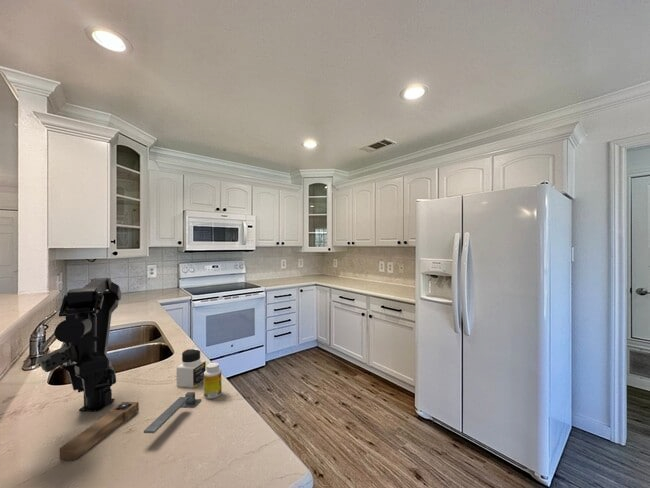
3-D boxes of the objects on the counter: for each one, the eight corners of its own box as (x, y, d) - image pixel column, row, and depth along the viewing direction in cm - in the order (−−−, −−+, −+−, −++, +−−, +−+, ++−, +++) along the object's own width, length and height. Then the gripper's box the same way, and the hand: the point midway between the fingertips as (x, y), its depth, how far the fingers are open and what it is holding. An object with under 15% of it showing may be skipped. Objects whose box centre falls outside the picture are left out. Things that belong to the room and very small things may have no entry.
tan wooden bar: (122, 410, 86) (122, 401, 86) (138, 410, 85) (138, 402, 85) (57, 459, 66) (57, 448, 66) (77, 459, 66) (77, 448, 66)
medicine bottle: (193, 388, 99) (193, 354, 99) (176, 386, 101) (175, 353, 101) (206, 378, 106) (205, 347, 106) (189, 377, 108) (189, 346, 108)
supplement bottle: (221, 397, 93) (221, 366, 93) (203, 400, 91) (203, 369, 91) (221, 389, 98) (221, 360, 98) (204, 392, 96) (204, 362, 96)
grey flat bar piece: (139, 446, 71) (139, 430, 71) (186, 400, 92) (186, 388, 92) (158, 446, 70) (158, 431, 70) (201, 400, 91) (200, 388, 91)
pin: (116, 419, 82) (116, 407, 82) (123, 413, 84) (123, 402, 84) (124, 419, 82) (124, 407, 82) (131, 414, 84) (131, 402, 84)
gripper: (32, 338, 75) (30, 398, 74) (53, 346, 65) (51, 416, 64) (85, 329, 84) (84, 382, 83) (110, 335, 74) (109, 396, 73)
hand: (82, 393), depth 76 cm, fingers open, 9 cm apart
